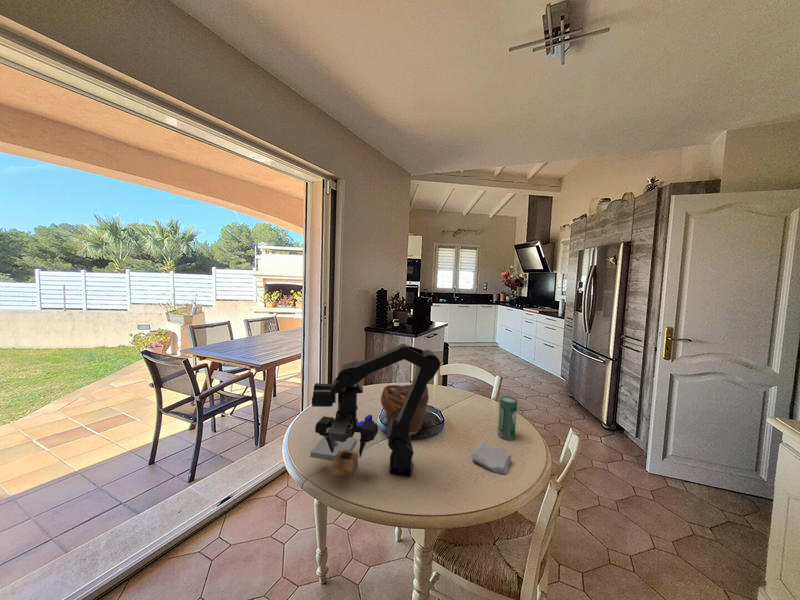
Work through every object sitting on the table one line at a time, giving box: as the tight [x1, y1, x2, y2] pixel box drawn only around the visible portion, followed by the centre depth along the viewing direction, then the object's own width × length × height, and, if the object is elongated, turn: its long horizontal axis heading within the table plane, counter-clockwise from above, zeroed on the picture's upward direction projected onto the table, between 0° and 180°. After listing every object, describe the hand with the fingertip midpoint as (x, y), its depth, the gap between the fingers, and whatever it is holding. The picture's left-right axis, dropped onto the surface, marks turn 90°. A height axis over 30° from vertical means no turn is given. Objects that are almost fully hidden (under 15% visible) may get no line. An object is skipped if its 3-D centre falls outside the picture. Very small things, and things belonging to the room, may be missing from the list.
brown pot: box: [380, 384, 430, 437], centre depth 121 cm, size 18×20×18 cm
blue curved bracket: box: [356, 414, 375, 426], centre depth 122 cm, size 12×4×6 cm, turn 63°
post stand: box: [310, 436, 358, 461], centre depth 105 cm, size 12×12×7 cm
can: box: [497, 395, 518, 441], centre depth 118 cm, size 6×6×15 cm
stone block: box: [471, 442, 512, 475], centre depth 101 cm, size 12×5×10 cm
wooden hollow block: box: [332, 449, 359, 479], centre depth 94 cm, size 6×6×5 cm
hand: (346, 454), depth 94 cm, fingers open, 9 cm apart
